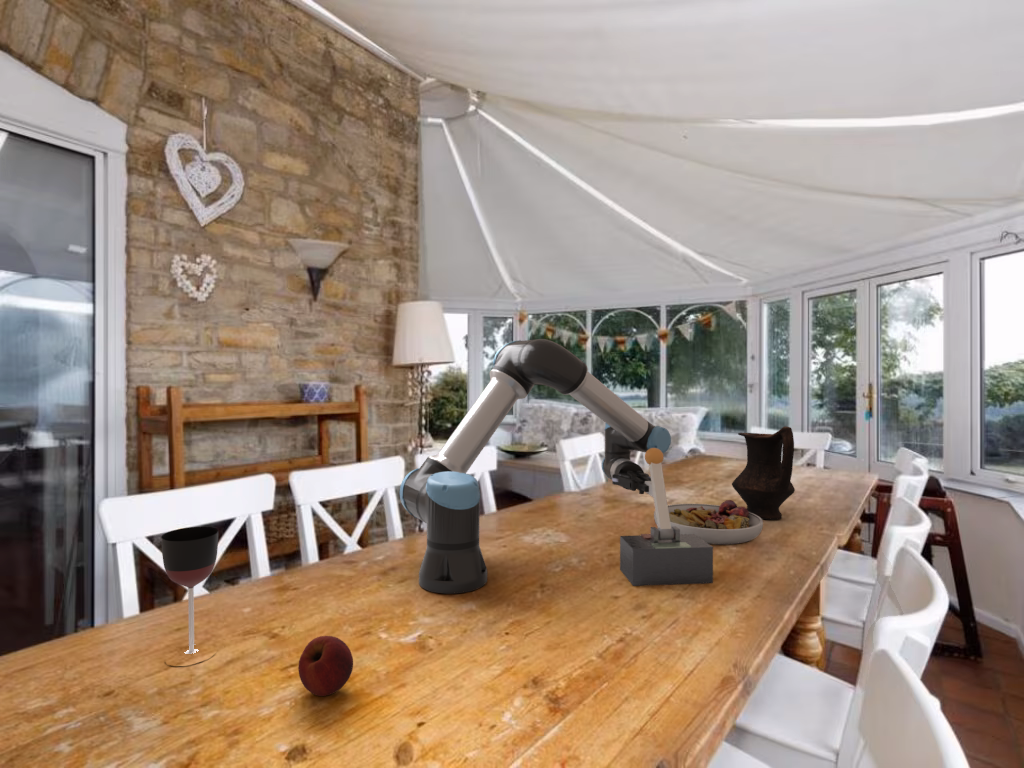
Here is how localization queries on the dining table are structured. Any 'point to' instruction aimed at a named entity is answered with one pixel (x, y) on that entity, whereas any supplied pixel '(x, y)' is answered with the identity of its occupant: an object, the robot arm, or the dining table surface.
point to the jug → (767, 472)
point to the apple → (325, 665)
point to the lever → (659, 493)
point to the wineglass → (190, 562)
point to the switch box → (666, 559)
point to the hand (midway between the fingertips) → (656, 491)
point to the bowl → (715, 522)
